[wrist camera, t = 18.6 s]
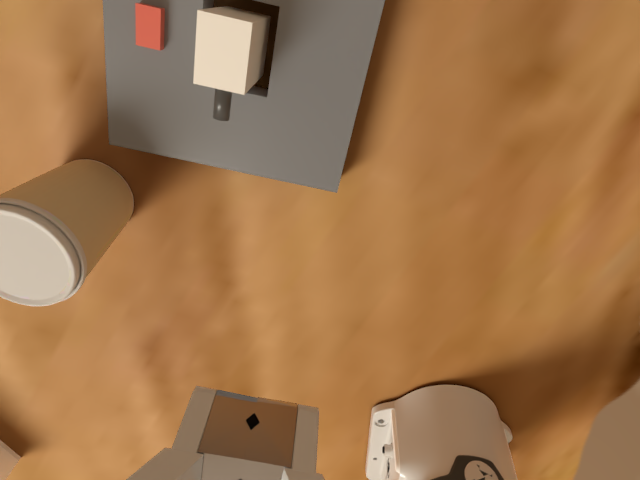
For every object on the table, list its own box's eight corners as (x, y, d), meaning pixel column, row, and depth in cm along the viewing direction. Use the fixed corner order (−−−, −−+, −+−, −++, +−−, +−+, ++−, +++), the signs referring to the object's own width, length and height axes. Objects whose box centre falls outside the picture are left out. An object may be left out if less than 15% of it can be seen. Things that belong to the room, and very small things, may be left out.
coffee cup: (29, 187, 43) (-72, 250, 32) (84, 129, 39) (-9, 179, 29) (105, 251, 46) (35, 327, 36) (162, 203, 43) (103, 271, 32)
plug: (259, 103, 37) (240, 129, 30) (219, 94, 37) (191, 118, 30) (271, 16, 34) (252, 22, 27) (227, 5, 34) (197, 9, 27)
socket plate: (337, 179, 41) (336, 196, 37) (124, 134, 39) (104, 147, 36) (400, -77, 31) (407, -85, 27) (117, -149, 29) (89, -167, 26)
